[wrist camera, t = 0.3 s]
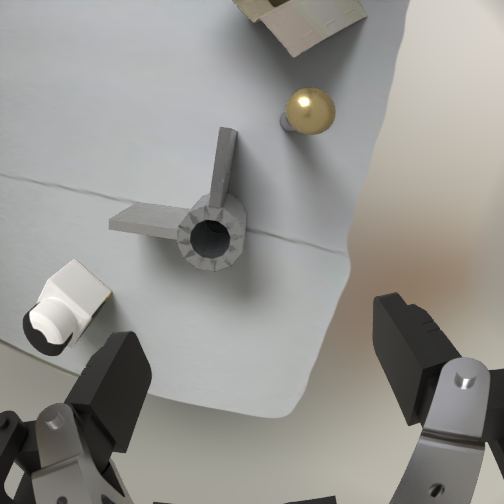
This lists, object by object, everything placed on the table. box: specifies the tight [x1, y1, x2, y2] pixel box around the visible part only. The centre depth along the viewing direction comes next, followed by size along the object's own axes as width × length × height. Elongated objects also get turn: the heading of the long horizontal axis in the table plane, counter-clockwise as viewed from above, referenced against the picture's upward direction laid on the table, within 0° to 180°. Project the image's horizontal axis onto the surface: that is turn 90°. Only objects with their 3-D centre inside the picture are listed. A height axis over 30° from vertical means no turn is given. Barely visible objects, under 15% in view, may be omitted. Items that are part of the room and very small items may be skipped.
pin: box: [280, 87, 335, 135], centre depth 26 cm, size 3×3×13 cm
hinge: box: [109, 127, 247, 272], centre depth 30 cm, size 13×13×8 cm
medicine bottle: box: [23, 259, 112, 356], centre depth 34 cm, size 7×7×12 cm
